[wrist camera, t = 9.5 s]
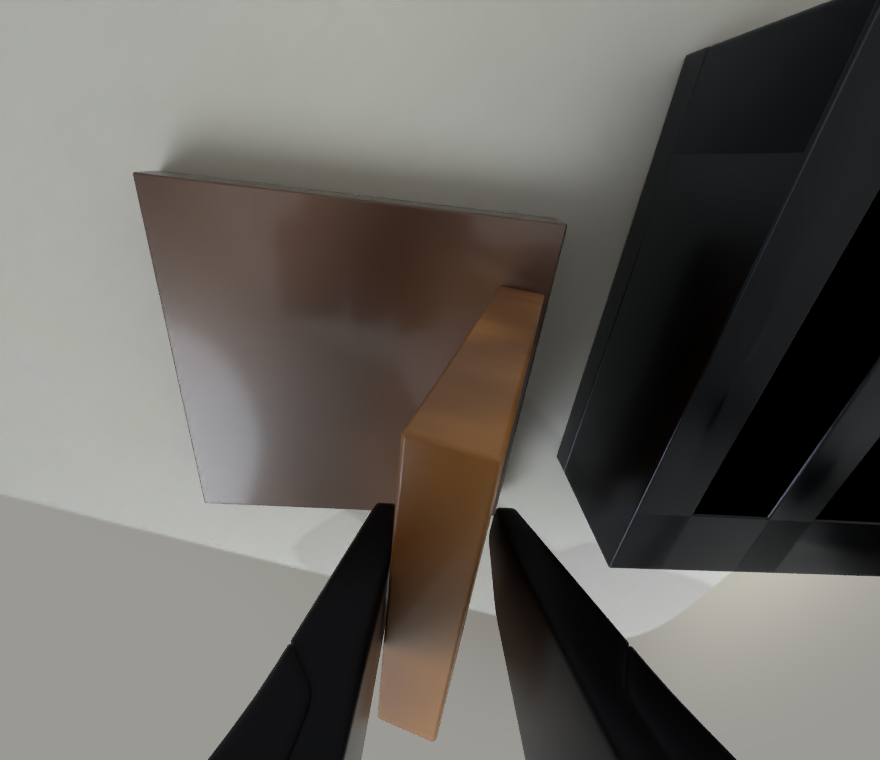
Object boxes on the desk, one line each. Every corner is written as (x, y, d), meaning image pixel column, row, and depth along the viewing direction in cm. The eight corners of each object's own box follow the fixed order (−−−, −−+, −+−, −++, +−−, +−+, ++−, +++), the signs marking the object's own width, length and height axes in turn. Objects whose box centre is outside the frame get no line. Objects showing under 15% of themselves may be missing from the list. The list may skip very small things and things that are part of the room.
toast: (545, 293, 12) (503, 460, 5) (497, 488, 16) (434, 744, 9) (500, 285, 13) (399, 431, 5) (463, 479, 16) (376, 718, 9)
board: (556, 218, 13) (568, 224, 12) (490, 495, 19) (494, 516, 18) (156, 170, 12) (131, 171, 11) (217, 482, 17) (204, 503, 16)
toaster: (1024, 66, 12) (1461, -1, 7) (764, 469, 19) (885, 577, 14) (701, 6, 11) (940, -121, 6) (556, 456, 18) (608, 568, 13)
